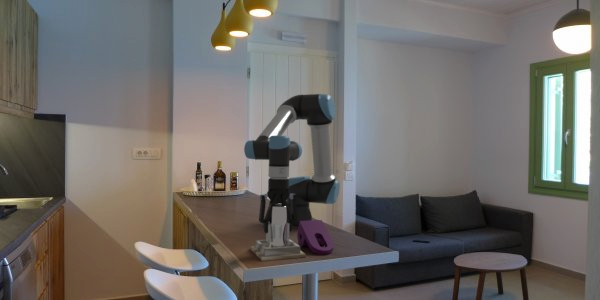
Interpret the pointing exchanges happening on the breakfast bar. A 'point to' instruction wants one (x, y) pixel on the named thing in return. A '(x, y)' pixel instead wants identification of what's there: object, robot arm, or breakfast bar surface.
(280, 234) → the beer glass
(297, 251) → the cup holder
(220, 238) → the breakfast bar surface
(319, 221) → the mounting bracket
